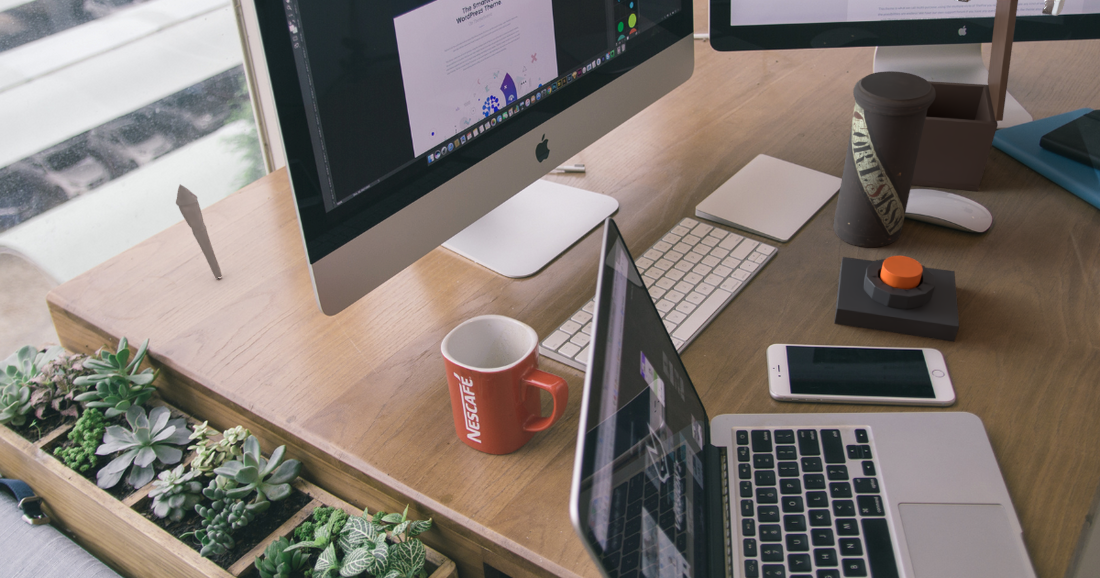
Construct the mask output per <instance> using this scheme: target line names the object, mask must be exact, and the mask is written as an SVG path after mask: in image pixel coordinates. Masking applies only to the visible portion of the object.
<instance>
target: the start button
mask: <svg viewBox="0 0 1100 578" xmlns="http://www.w3.org/2000/svg"><path fill="white" fill-rule="evenodd" d="M884 259H885V260H884V262H883V265H882V270H881V274H880V278H881V280H882V282H883V283H885V284H887V285H889V286H891V287H893V288H898V289H906V290H907V289H912V288H916V287H917V286H918V285H919V283H920V279H921V275H922V271H923V267H922V265H923V264H921V262H919V261H917V260H916V259H914V258H912V257H909V256H905V255H892V256H889V257H886V258H884Z"/></svg>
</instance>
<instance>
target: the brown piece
mask: <svg viewBox="0 0 1100 578" xmlns="http://www.w3.org/2000/svg"><path fill="white" fill-rule="evenodd" d="M995 4H996V5H995V13H994V22H993V31H992V38H991V39H992V40H991V48H990V57H989V66H988V73H987V85H988V86H989V91H990V96H991V101H992V106H993V111H994V116H995V121H997V122H1003V118H1004V114H1005V105H1006V97H1007V89H1008V81H1009V74H1010V65H1011V59H1012V52H1013V44H1014V36H1015V29H1016V28H1015V27H1016V20H1017V13H1018V6H1019V0H996V3H995Z"/></svg>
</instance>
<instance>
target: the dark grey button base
mask: <svg viewBox="0 0 1100 578" xmlns="http://www.w3.org/2000/svg"><path fill="white" fill-rule="evenodd" d="M885 259H886V258H882V259H876V260H870V259H862V258H855V257H847V256H842V257H841V263H840V268H839V274H838V282H837V293H836V301H835V302H836V303H835V313H834V321H833V323H834V325H841V326H846V327H847V326H848V327H854V328H861V329H868V330H873V331H880V332H886V333H887V332H888V333H894V334H900V335H907V336H911V337H912V336H913V337H919V338H925V339H926V338H927V339H931V340H932V339H933V340H939V341H945V342H952V343H954V342H955V341H956V338H957V334H958V331H959V329H960V323H959V322H960V321H959V308H958V298H957V297H958V296H957V295H958V294H957V285H956V273H955V270H949V269H941V268H934V267H933V268H932V267H927V266H925V265H923V264H921V265H922V267H923V271H922V275H921V279H920V283H919V285H918V286H917V287H916V288H912V289H907V290H906V289H898V288H893V287H891V286H889V285H887V284H885V283H883V282H882V280H881V278H880V274H881V270H882V265H883V262H884V260H885Z"/></svg>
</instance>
